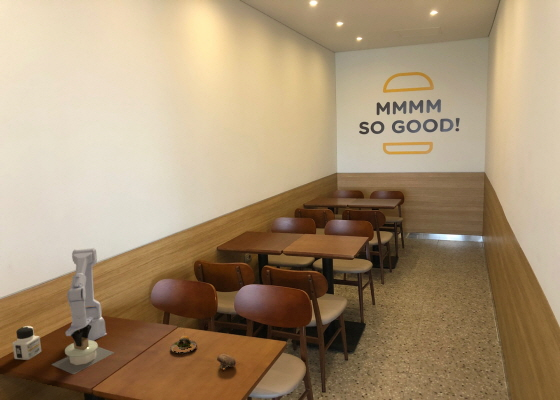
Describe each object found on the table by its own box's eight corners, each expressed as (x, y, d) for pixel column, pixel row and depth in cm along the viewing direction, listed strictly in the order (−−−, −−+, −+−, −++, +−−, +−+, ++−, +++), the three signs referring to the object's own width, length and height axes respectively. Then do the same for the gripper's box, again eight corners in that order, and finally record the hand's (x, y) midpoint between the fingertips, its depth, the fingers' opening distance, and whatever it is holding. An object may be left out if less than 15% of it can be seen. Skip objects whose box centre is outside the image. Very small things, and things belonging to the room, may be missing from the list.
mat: (92, 345, 202) (92, 344, 202) (114, 353, 193) (114, 352, 193) (51, 365, 185) (51, 364, 185) (73, 375, 177) (73, 374, 177)
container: (29, 360, 190) (25, 332, 188) (14, 359, 191) (10, 331, 189) (41, 351, 197) (38, 324, 195) (27, 350, 199) (23, 323, 197)
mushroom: (217, 368, 173) (222, 352, 175) (211, 366, 180) (216, 351, 182) (235, 374, 175) (239, 358, 177) (228, 372, 182) (233, 357, 184)
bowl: (86, 350, 196) (85, 342, 195) (100, 356, 191) (99, 347, 190) (66, 360, 188) (65, 352, 187) (80, 366, 182) (79, 358, 182)
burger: (165, 353, 193) (163, 338, 191) (180, 341, 203) (179, 326, 202) (187, 358, 188) (186, 342, 187) (202, 345, 199) (201, 330, 198)
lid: (79, 339, 197) (79, 330, 196) (104, 344, 193) (103, 334, 192) (58, 354, 184) (57, 343, 183) (83, 359, 181) (82, 348, 180)
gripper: (83, 307, 194) (86, 335, 196) (58, 320, 180) (61, 351, 182) (96, 308, 192) (99, 337, 194) (72, 322, 178) (75, 353, 180)
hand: (81, 344), depth 188 cm, fingers closed on lid, 3 cm apart
